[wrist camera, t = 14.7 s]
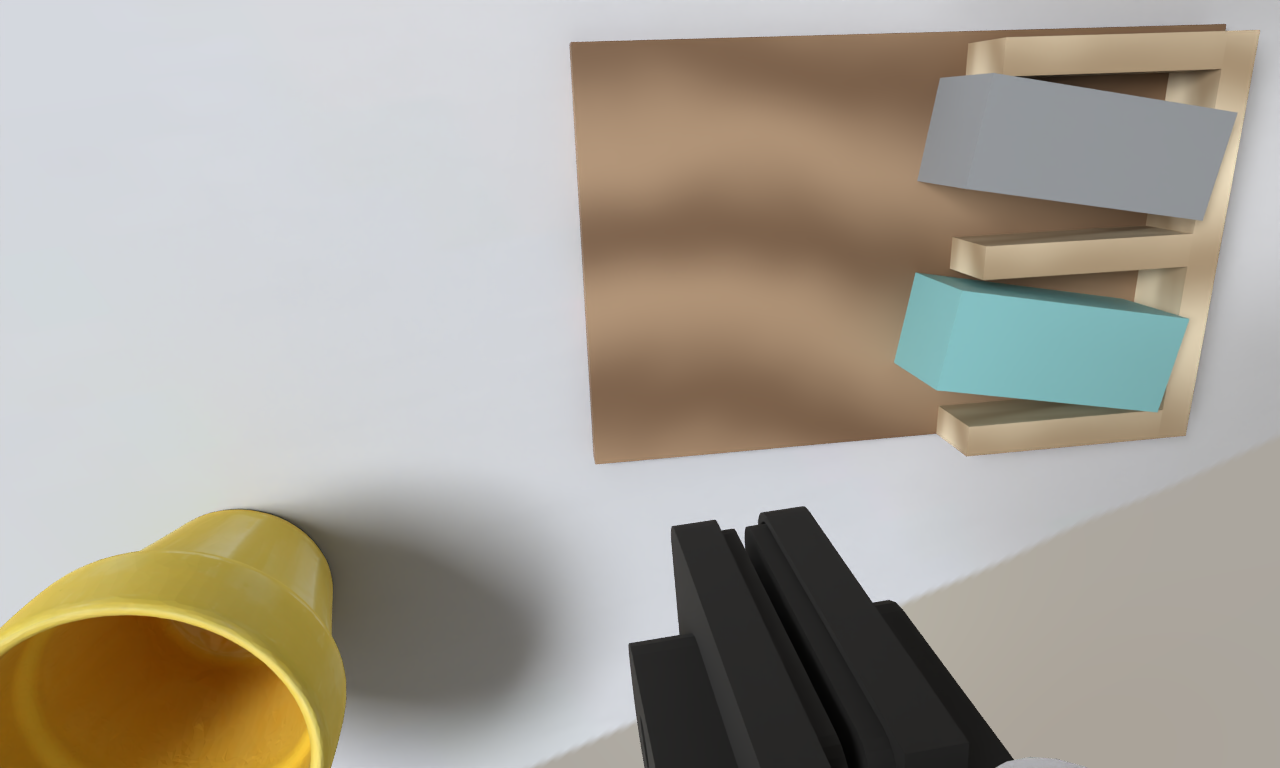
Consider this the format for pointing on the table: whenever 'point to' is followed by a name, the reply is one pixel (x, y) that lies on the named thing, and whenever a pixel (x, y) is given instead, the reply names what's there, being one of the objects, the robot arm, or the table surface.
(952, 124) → the grey rectangular block
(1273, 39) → the table surface
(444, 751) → the table surface
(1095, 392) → the aqua foam brick
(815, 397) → the comb board
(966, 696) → the robot arm
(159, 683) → the plant pot
